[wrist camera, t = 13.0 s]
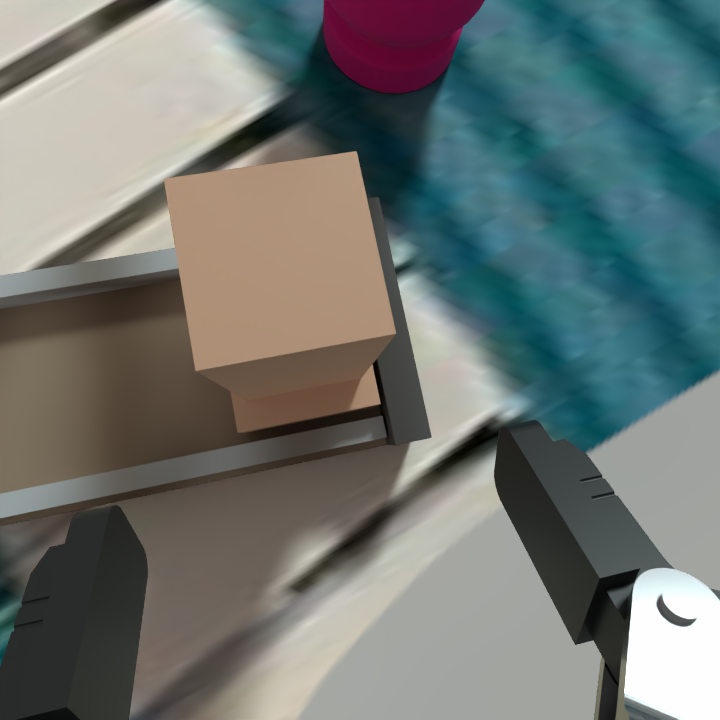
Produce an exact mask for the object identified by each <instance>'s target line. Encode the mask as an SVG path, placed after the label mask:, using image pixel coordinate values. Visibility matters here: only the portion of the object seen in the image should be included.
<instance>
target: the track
mask: <svg viewBox="0 0 720 720" xmlns="http://www.w3.org/2000/svg"><path fill="white" fill-rule="evenodd" d="M367 201H368V206H369V210H370V215H371V220H372V224H373V229H374V233H375V238H376V243H377V247H378V252H379V256H380V261H381V266H382V270H383V275H384V280H385V284H386V289H387V293H388V298H389V303H390V307H391V312H392V316H393V321H394V326H395V330H396V335H395V336H394V337H393V338H392V340H391V341H390V342H389V344H388V345H387V346H386V347H385V349H384V350H383V351H382V352H381V354H380V355H379V356H378V358H377V359H376V360H375V361H374V363H373V364H372V365H373V370H374V375H375V379H376V384H377V389H378V394H379V398H380V403H381V404H379V405H378V406H376V407H373V408H368V409H363V410H358V411H353V412H348V413H344V414H339V415H334V416H329V417H324V418H319V419H314V420H309V421H304V422H299V423H294V424H289V425H284V426H279V427H274V428H269V429H264V430H259V431H254V432H249V433H238V432H237V427H236V421H235V415H234V409H233V403H232V397H231V392H230V391H229V390H227V389H226V388H224V387H222V386H221V385H219V384H217V383H215V382H214V381H212V380H210V379H208V378H207V377H205V376H203V375H201V374H200V373H198V372H196V371H195V365H194V359H193V353H192V347H191V341H190V334H189V328H188V322H187V316H186V310H185V304H184V298H183V292H182V286H181V280H180V274H179V268H178V261H177V255H176V249H175V248H171V249H165V250H159V251H153V252H146V253H140V254H134V255H127V256H121V257H115V258H109V259H102V260H96V261H90V262H84V263H77V264H71V265H65V266H58V267H52V268H46V269H40V270H33V271H27V272H21V273H14V274H8V275H2V276H0V526H3V525H8V524H13V523H18V522H22V521H27V520H32V519H36V518H41V517H46V516H51V515H55V514H60V513H65V512H70V511H74V510H79V509H84V508H89V507H93V506H98V505H103V504H108V503H112V502H117V501H122V500H127V499H131V498H136V497H141V496H145V495H150V494H155V493H160V492H164V491H169V490H174V489H179V488H183V487H188V486H193V485H198V484H202V483H207V482H212V481H217V480H221V479H226V478H231V477H236V476H240V475H245V474H250V473H255V472H259V471H264V470H269V469H273V468H278V467H283V466H288V465H292V464H297V463H302V462H307V461H311V460H316V459H321V458H326V457H330V456H335V455H340V454H345V453H349V452H354V451H359V450H364V449H368V448H373V447H378V446H382V445H399V444H404V443H408V442H413V441H418V440H423V439H427V438H432V437H431V432H430V428H429V423H428V419H427V414H426V409H425V405H424V400H423V396H422V391H421V387H420V382H419V378H418V373H417V369H416V364H415V359H414V355H413V350H412V346H411V341H410V337H409V332H408V328H407V323H406V319H405V314H404V310H403V305H402V300H401V296H400V291H399V287H398V282H397V278H396V273H395V269H394V264H393V260H392V255H391V251H390V246H389V241H388V237H387V232H386V228H385V223H384V219H383V214H382V210H381V205H380V201H379V197H374V198H368V199H367Z"/></svg>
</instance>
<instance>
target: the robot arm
mask: <svg viewBox="0 0 720 720" xmlns="http://www.w3.org/2000/svg"><path fill="white" fill-rule="evenodd" d="M494 479H495V485H496V489H497V492H498V495H499V498H500V500H501V502H502V504H503V506H504V508H505V510H506V512H507V514H508V516H509V518H510V520H511V522H512V523H513V525H514V527H515V529H516V531H517V533H518V535H519V537H520V539H521V541H522V543H523V545H524V547H525V549H526V551H527V552H528V554H529V556H530V558H531V560H532V562H533V564H534V566H535V568H536V570H537V572H538V574H539V576H540V578H541V580H542V581H543V583H544V585H545V587H546V589H547V591H548V593H549V595H550V597H551V599H552V601H553V603H554V605H555V607H556V609H557V610H558V612H559V614H560V616H561V618H562V620H563V622H564V624H565V626H566V628H567V630H568V632H569V634H570V636H571V637H572V640H573V641H574V643H575V645H576V644H581V643H584V642H588V641H592V640H594V642H595V644H596V646H597V648H598V649H599V651H600V653H601V655H602V658H601V663H600V672H599V680H598V689H597V696H596V706H595V714H594V720H720V591H717V590H714V589H710V588H708V587H707V586H706V585H705V584H703V583H702V582H701V581H699V580H697V579H696V578H694V577H692V576H691V575H688V574H687V573H684V572H681V571H678V570H675V569H674V568H673V567H672V566H671V565H670V564H669V563H668V562H667V561H666V560H665V559H664V557H663V556H662V555H661V553H660V552H659V551H658V549H657V548H656V547H655V545H654V544H653V543H652V541H651V540H650V539H649V537H648V536H647V535H646V534H645V532H644V531H643V529H642V528H641V527H640V525H639V524H638V522H637V521H636V520H635V518H634V517H633V516H632V514H631V513H630V512H629V510H628V509H627V508H626V506H625V505H624V504H623V503H622V501H621V500H620V498H619V497H618V496H616V495H615V494H614V490H613V489H612V488H611V486H610V485H609V484H608V482H607V481H606V480H605V479H603V478H602V474H601V473H600V472H599V470H598V469H597V467H596V466H595V465H594V463H593V462H592V461H591V459H590V458H589V457H588V455H587V454H585V453H584V452H583V451H581V450H580V449H578V448H577V447H575V446H574V445H573V444H571V443H570V442H568V441H567V440H566V439H563V440H558V441H554V442H553V441H552V440H551V438H550V437H549V435H548V434H547V432H546V431H545V430H544V428H543V427H542V425H541V424H540V423H539V422H538V421H536V420H532V421H527V422H522V423H517V424H513V425H508V426H503V427H501V428H500V430H499V435H498V443H497V452H496V461H495V469H494ZM147 576H148V567H147V559H146V554H145V551H144V548H143V546H142V544H141V543H140V541H139V539H138V537H137V535H136V534H135V532H134V530H133V528H132V527H131V525H130V523H129V521H128V520H127V518H126V516H125V514H124V513H123V511H122V509H121V508H120V507H119V506H117V505H115V506H110V507H105V508H100V509H95V510H91V511H86V512H81V513H77V514H76V515H75V516H74V517H73V519H72V521H71V524H70V527H69V530H68V534H67V538H66V541H65V544H63V545H58V546H53V547H50V548H49V549H48V551H47V552H46V553H45V555H44V556H43V558H42V559H41V560H40V562H39V563H38V565H37V566H36V567H35V569H34V570H33V572H32V573H31V575H30V578H29V581H28V584H27V587H26V590H25V593H24V596H23V599H22V602H21V603H22V608H19V611H18V614H17V618H16V621H15V624H14V628H15V629H14V632H12V633H11V636H10V639H9V642H8V645H7V648H6V651H5V654H4V657H3V660H2V663H1V667H0V720H129V714H130V706H131V698H132V691H133V683H134V676H135V668H136V661H137V653H138V645H139V638H140V630H141V623H142V615H143V608H144V600H145V592H146V585H147Z"/></svg>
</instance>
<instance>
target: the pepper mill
mask: <svg viewBox="0 0 720 720" xmlns="http://www.w3.org/2000/svg"><path fill="white" fill-rule="evenodd" d="M484 1H485V0H324V15H323V34H324V38H325V43H326V47H327V49H328V52H329V54H330V56H331V58H332V59H333V61H334V62H335V64H336V65H337V66H338V67H339V68H340V69H341V71H342V72H343V73H344V74H345V75H346V76H348V77H349V78H351V79H352V80H354V81H355V82H357V83H358V84H360V85H361V86H363V87H366V88H368V89H371V90H375V91H378V92H382V93H405V92H410V91H414V90H418V89H420V88H422V87H425V86H426V85H428V84H430V83H431V82H433V81H434V80H435V79H437V78H438V77H439V76H440V75H441V74H442V73H443V72H444V71H445V69H446V68H447V66H448V65H449V63H450V61H451V59H452V57H453V54H454V51H455V49H456V46H457V43H458V40H459V37H460V34H461V32H462V28H463V26H464V25H465V24H466V23H468V22H469V21H470V19H471V18H472V17H473V16H474V15H475V14H476V13H477V12H478V10H479V9H480V7H481V6H482V4H483V2H484Z"/></svg>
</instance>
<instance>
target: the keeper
mask: <svg viewBox="0 0 720 720" xmlns="http://www.w3.org/2000/svg"><path fill="white" fill-rule="evenodd" d="M164 182H165V188H166V194H167V201H168V207H169V213H170V219H171V225H172V231H173V237H174V243H175V249H176V255H177V261H178V268H179V274H180V280H181V286H182V292H183V298H184V304H185V310H186V316H187V322H188V328H189V334H190V341H191V347H192V353H193V359H194V365H195V371H196V372H198V373H200V374H201V375H203V376H205V377H207V378H208V379H210V380H212V381H214V382H215V383H217V384H219V385H221V386H222V387H224V388H226V389H227V390H229V391H230V392H231V397H232V403H233V409H234V415H235V421H236V427H237V432H238V433H249V432H254V431H259V430H264V429H269V428H274V427H279V426H284V425H289V424H294V423H299V422H304V421H309V420H314V419H319V418H324V417H329V416H334V415H339V414H344V413H348V412H353V411H358V410H363V409H368V408H373V407H376V406H378V405H379V404H381V403H380V398H379V394H378V389H377V384H376V379H375V375H374V370H373V365H372V364H373V363H374V361H375V360H376V359H377V358H378V356H379V355H380V354H381V352H382V351H383V350H384V349H385V347H386V346H387V345H388V344H389V342H390V341H391V340H392V338H393V337H394V336H395V335H396V330H395V326H394V321H393V316H392V312H391V307H390V303H389V298H388V293H387V289H386V284H385V280H384V275H383V270H382V266H381V261H380V256H379V252H378V247H377V243H376V238H375V233H374V229H373V224H372V220H371V215H370V210H369V206H368V201H367V197H366V192H365V187H364V183H363V178H362V174H361V169H360V164H359V160H358V155H357V151H354V152H347V153H340V154H333V155H326V156H319V157H312V158H305V159H298V160H292V161H285V162H278V163H271V164H264V165H257V166H250V167H243V168H236V169H229V170H222V171H215V172H208V173H201V174H194V175H187V176H180V177H174V178H167V179H164Z"/></svg>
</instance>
